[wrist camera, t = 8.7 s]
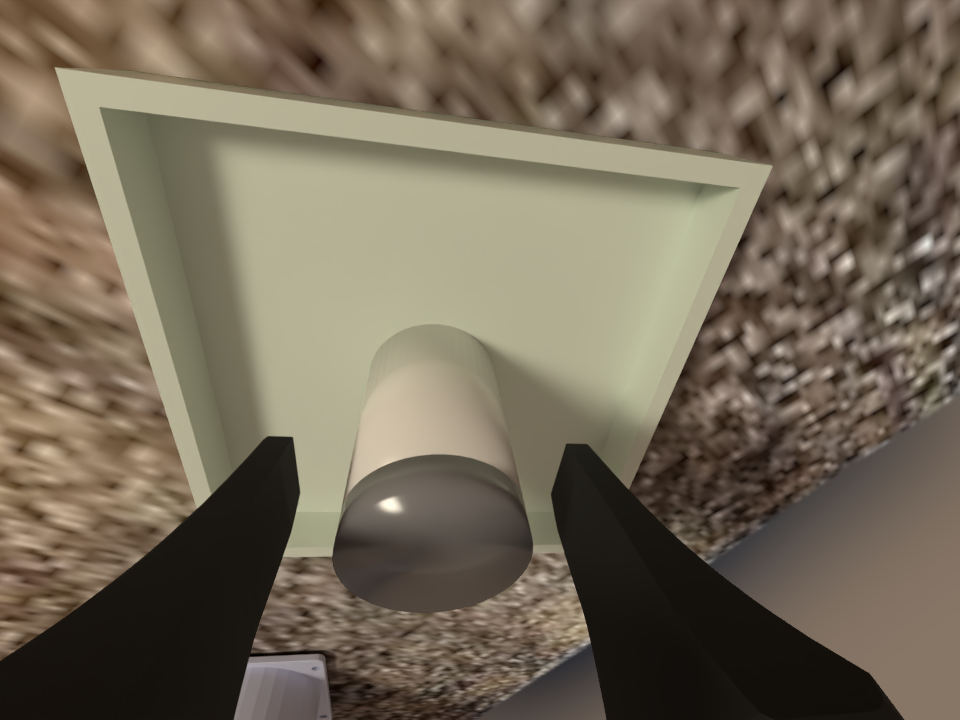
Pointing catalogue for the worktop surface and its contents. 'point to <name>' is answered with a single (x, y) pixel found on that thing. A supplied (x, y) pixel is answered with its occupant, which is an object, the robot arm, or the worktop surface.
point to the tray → (398, 270)
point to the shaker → (431, 480)
